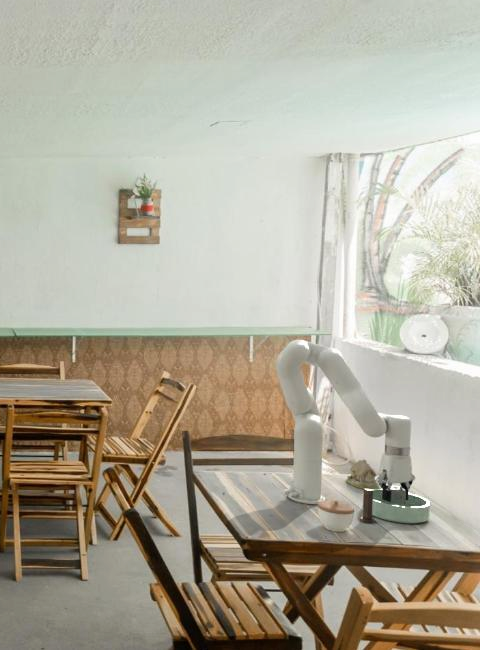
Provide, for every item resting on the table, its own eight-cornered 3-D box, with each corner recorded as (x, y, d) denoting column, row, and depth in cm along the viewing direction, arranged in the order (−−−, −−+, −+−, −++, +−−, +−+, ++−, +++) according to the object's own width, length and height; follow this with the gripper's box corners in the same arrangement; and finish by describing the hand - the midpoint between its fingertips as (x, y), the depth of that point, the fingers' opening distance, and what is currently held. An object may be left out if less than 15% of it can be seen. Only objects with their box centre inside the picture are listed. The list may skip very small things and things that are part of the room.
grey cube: (399, 499, 241) (400, 486, 241) (405, 504, 236) (406, 490, 236) (384, 498, 242) (385, 485, 242) (389, 503, 237) (390, 489, 237)
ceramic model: (342, 478, 279) (342, 454, 278) (371, 479, 277) (372, 456, 277) (356, 489, 265) (357, 464, 265) (386, 490, 263) (387, 465, 263)
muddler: (367, 523, 228) (368, 492, 227) (356, 519, 232) (357, 488, 232) (377, 522, 229) (379, 491, 228) (367, 518, 233) (368, 487, 233)
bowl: (396, 527, 225) (397, 509, 225) (350, 507, 244) (350, 491, 244) (443, 522, 230) (443, 505, 230) (394, 503, 249) (394, 487, 249)
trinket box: (352, 536, 216) (353, 508, 216) (315, 530, 222) (316, 502, 222) (354, 526, 225) (355, 499, 225) (318, 520, 231) (319, 493, 231)
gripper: (407, 446, 244) (405, 494, 245) (368, 449, 240) (366, 498, 241) (426, 452, 237) (423, 501, 238) (386, 454, 233) (383, 505, 234)
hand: (394, 499), depth 239 cm, fingers closed on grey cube, 6 cm apart
